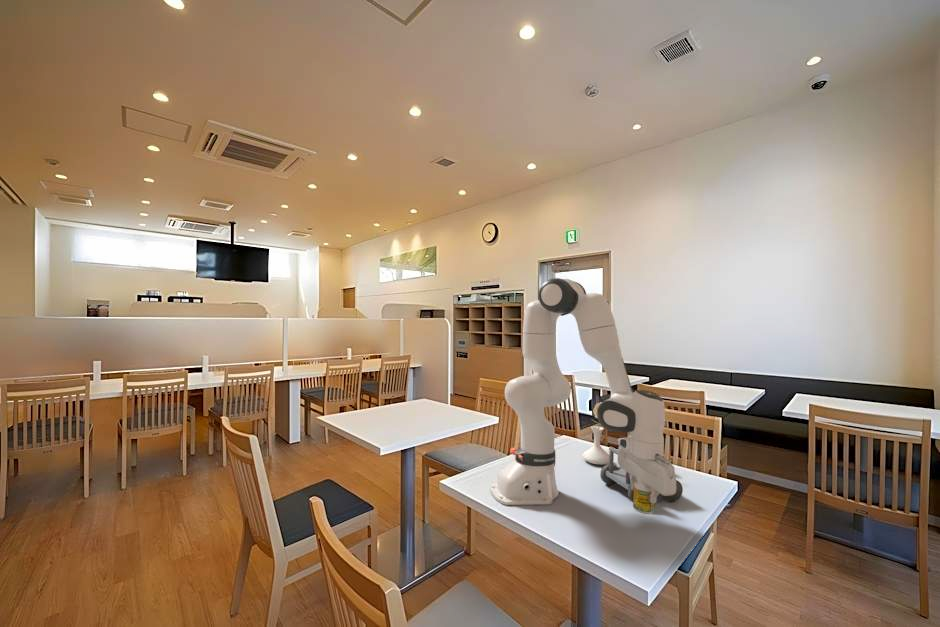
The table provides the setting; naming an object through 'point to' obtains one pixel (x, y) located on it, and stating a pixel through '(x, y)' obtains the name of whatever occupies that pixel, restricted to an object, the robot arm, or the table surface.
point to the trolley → (628, 478)
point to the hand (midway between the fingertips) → (643, 496)
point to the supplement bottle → (642, 497)
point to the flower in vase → (596, 445)
